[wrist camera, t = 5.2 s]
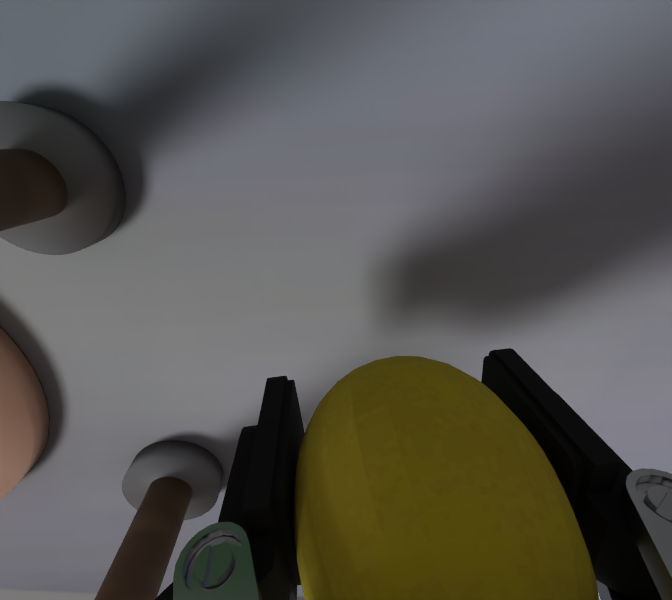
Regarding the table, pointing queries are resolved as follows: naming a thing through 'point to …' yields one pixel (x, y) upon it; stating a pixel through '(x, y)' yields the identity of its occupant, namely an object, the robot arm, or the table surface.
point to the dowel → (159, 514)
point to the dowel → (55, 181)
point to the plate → (19, 415)
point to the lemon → (430, 495)
